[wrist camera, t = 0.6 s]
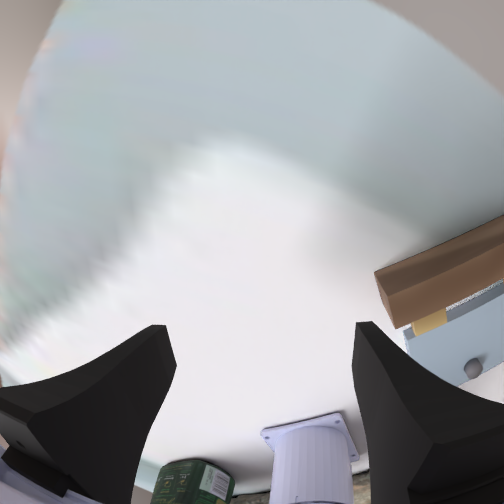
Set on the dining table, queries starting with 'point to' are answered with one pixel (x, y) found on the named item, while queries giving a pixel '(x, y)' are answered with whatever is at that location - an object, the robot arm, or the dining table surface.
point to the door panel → (463, 340)
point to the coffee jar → (193, 484)
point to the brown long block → (442, 277)
